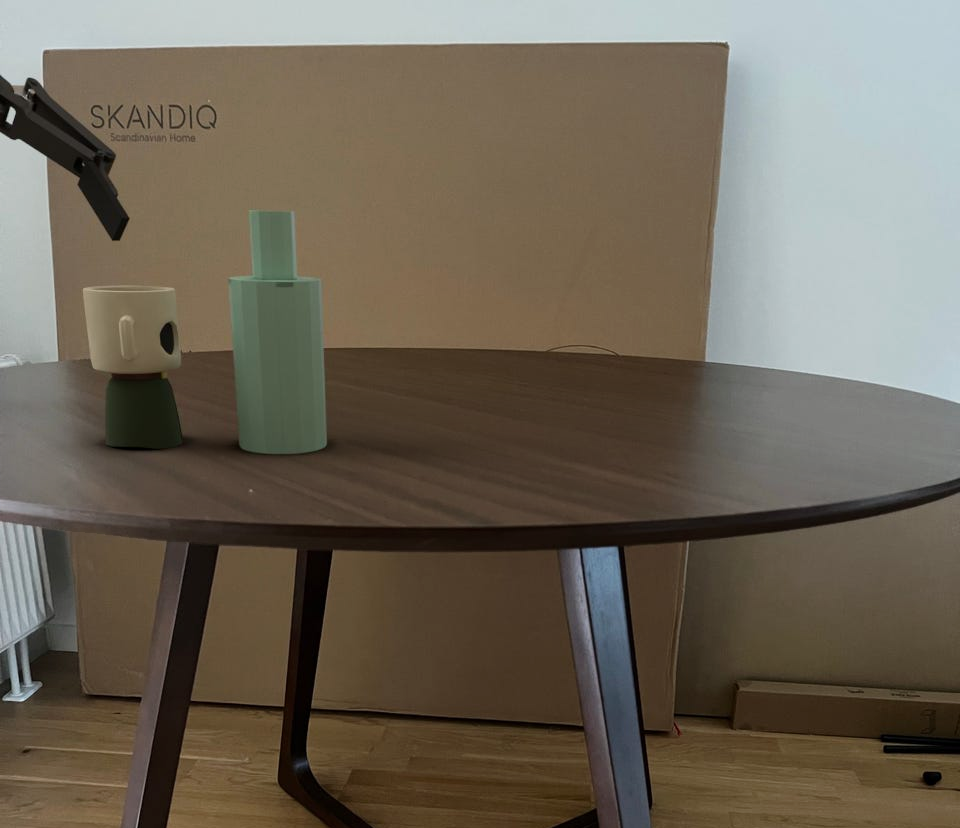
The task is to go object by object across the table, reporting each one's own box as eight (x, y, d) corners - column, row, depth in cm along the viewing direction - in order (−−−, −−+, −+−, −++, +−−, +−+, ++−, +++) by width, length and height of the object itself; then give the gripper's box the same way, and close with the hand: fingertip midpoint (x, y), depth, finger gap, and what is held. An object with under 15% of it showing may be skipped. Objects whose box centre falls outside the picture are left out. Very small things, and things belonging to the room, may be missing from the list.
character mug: (186, 462, 83) (171, 293, 78) (93, 465, 82) (71, 292, 77) (192, 435, 93) (179, 284, 88) (109, 437, 91) (91, 283, 86)
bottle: (248, 463, 83) (232, 209, 76) (234, 445, 89) (217, 209, 82) (335, 458, 86) (328, 212, 78) (315, 441, 92) (306, 211, 85)
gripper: (53, 89, 101) (160, 259, 98) (-234, 57, 83) (-113, 264, 80) (76, 22, 96) (189, 199, 93) (-224, -28, 78) (-94, 190, 75)
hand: (50, 229), depth 86 cm, fingers open, 13 cm apart
